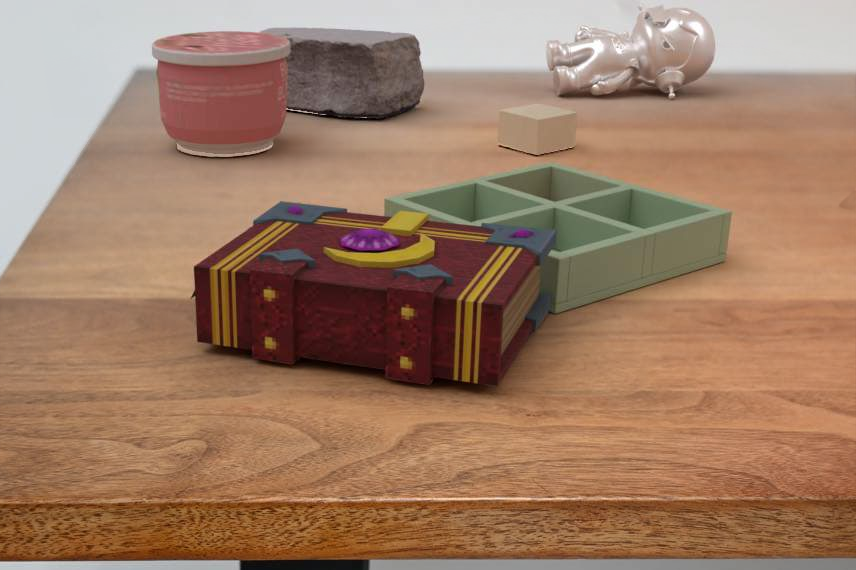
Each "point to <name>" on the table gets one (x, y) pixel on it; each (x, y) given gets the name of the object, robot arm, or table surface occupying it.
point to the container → (222, 89)
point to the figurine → (635, 54)
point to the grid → (585, 227)
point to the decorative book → (376, 292)
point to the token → (537, 128)
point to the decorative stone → (352, 71)
